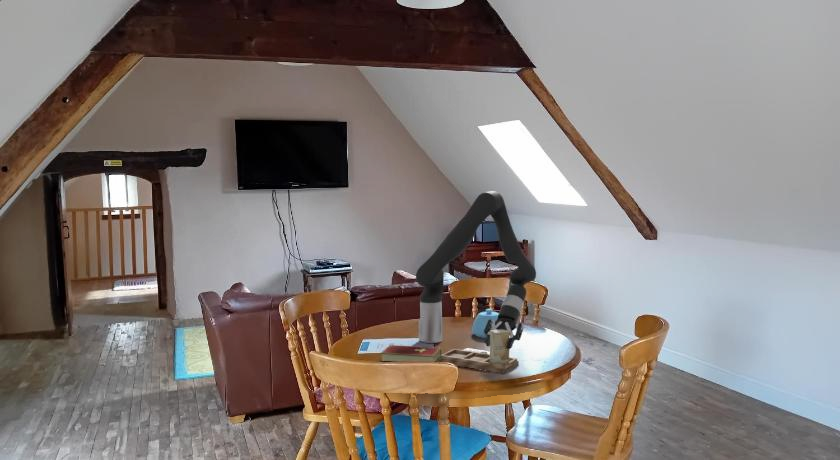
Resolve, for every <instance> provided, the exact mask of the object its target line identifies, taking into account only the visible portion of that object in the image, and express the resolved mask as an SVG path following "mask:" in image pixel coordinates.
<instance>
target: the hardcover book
mask: <svg viewBox="0 0 840 460" xmlns="http://www.w3.org/2000/svg"><path fill="white" fill-rule="evenodd" d="M380 355H381V362H382V361H433V362H434V361H438V360H439V359H440V355H442V348H441V347H428V346H415V345H412V346H410V345H396V344H395V345H394V344H393V345H392V344H390V345H388V346H387V347H386V348H385V349H383V350H381V352H380Z"/></svg>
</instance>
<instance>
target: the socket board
mask: <svg viewBox="0 0 840 460" xmlns="http://www.w3.org/2000/svg"><path fill="white" fill-rule="evenodd" d="M519 361H520V360H518V358H516V357H510V356H509V362H508V363H506V364H503V365H501V364H495V363H490V354H485V353H478V352H472V351H465V350H464V349H459V348H452V349H450V350H449V351H446V352H444V353H441V355H440V357H439V358H438V363H439V362H450V363H453V364H455V365H458V366H463V367H462V368H464V367H469V368H468V369H470V368H475V369H474V370H476V369H481V370H480V371H482V370H486V371H485V372H488V371H492V372H491V373H493V372H497V373H496V374H499V373H502V374H501V375H504V374H506V373H508V372H509V371H511V370H513V369H514V368H517V366H519V365H520V364H519V363H520V362H519ZM458 366H457V367H458ZM512 368H513V369H512ZM510 369H511V370H510ZM507 371H508V372H507ZM505 372H506V373H505Z"/></svg>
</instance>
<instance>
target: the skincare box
mask: <svg viewBox="0 0 840 460" xmlns="http://www.w3.org/2000/svg"><path fill="white" fill-rule="evenodd" d="M509 338H510V335H509V331H507V330H502V329H501V330H490V346H489V351H490V363H495V364H501V365H503V364H506V363H508V362H509V357H510V350H508V349H507V348H506V345H507V342H508V339H509Z"/></svg>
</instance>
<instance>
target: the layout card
mask: <svg viewBox="0 0 840 460" xmlns="http://www.w3.org/2000/svg"><path fill="white" fill-rule="evenodd" d="M463 350H465V351H472V352H478V353H485V354H490V350H489V351H488V350H482V349H475V348H471V347H466V348H464V349H463Z"/></svg>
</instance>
